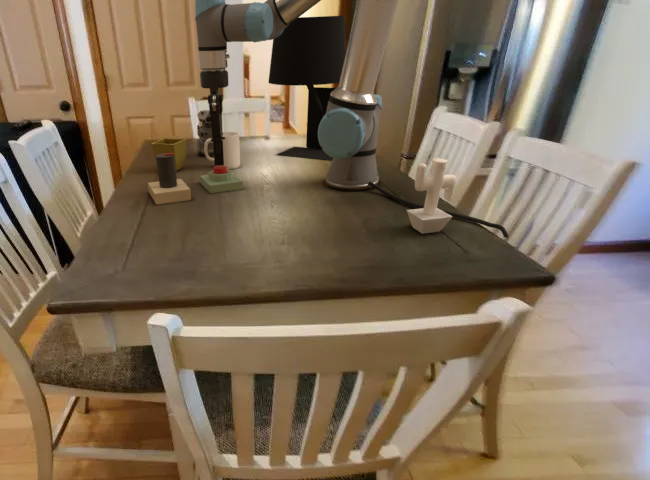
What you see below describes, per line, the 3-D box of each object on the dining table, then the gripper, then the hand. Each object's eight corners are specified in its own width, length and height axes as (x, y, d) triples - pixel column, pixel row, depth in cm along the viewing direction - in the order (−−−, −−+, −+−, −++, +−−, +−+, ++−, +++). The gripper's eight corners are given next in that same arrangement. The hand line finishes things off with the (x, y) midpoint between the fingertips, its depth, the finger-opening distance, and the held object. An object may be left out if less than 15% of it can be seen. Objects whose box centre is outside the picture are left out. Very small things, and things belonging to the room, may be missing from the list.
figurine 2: (453, 232, 104) (470, 160, 95) (415, 237, 103) (429, 164, 94) (435, 221, 110) (450, 153, 101) (399, 226, 108) (411, 157, 99)
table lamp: (354, 151, 171) (367, 14, 147) (321, 169, 152) (331, 15, 128) (292, 146, 182) (295, 18, 158) (255, 161, 164) (252, 19, 139)
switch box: (242, 189, 137) (242, 174, 135) (210, 193, 135) (209, 178, 132) (231, 179, 146) (230, 165, 144) (200, 183, 144) (199, 169, 142)
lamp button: (228, 174, 137) (228, 167, 136) (215, 175, 136) (215, 169, 135) (224, 171, 140) (224, 164, 139) (212, 172, 139) (211, 166, 138)
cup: (239, 169, 156) (238, 136, 150) (204, 170, 157) (201, 137, 150) (241, 163, 162) (239, 131, 156) (207, 164, 163) (204, 132, 157)
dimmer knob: (161, 188, 129) (156, 156, 124) (158, 184, 133) (153, 153, 128) (178, 186, 131) (175, 154, 126) (175, 182, 134) (171, 151, 129)
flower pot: (154, 172, 157) (150, 143, 151) (167, 165, 163) (163, 137, 158) (177, 173, 154) (173, 144, 149) (189, 167, 160) (186, 138, 155)
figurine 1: (201, 160, 169) (197, 113, 160) (197, 153, 178) (193, 108, 169) (225, 158, 170) (223, 111, 161) (220, 151, 179) (218, 107, 170)
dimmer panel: (191, 200, 130) (190, 188, 128) (156, 204, 128) (154, 192, 126) (182, 189, 139) (181, 178, 138) (149, 193, 137) (147, 182, 135)
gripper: (226, 71, 117) (230, 170, 132) (229, 67, 128) (233, 159, 142) (197, 72, 118) (204, 170, 132) (202, 68, 128) (208, 160, 142)
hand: (219, 164), depth 137 cm, fingers closed
